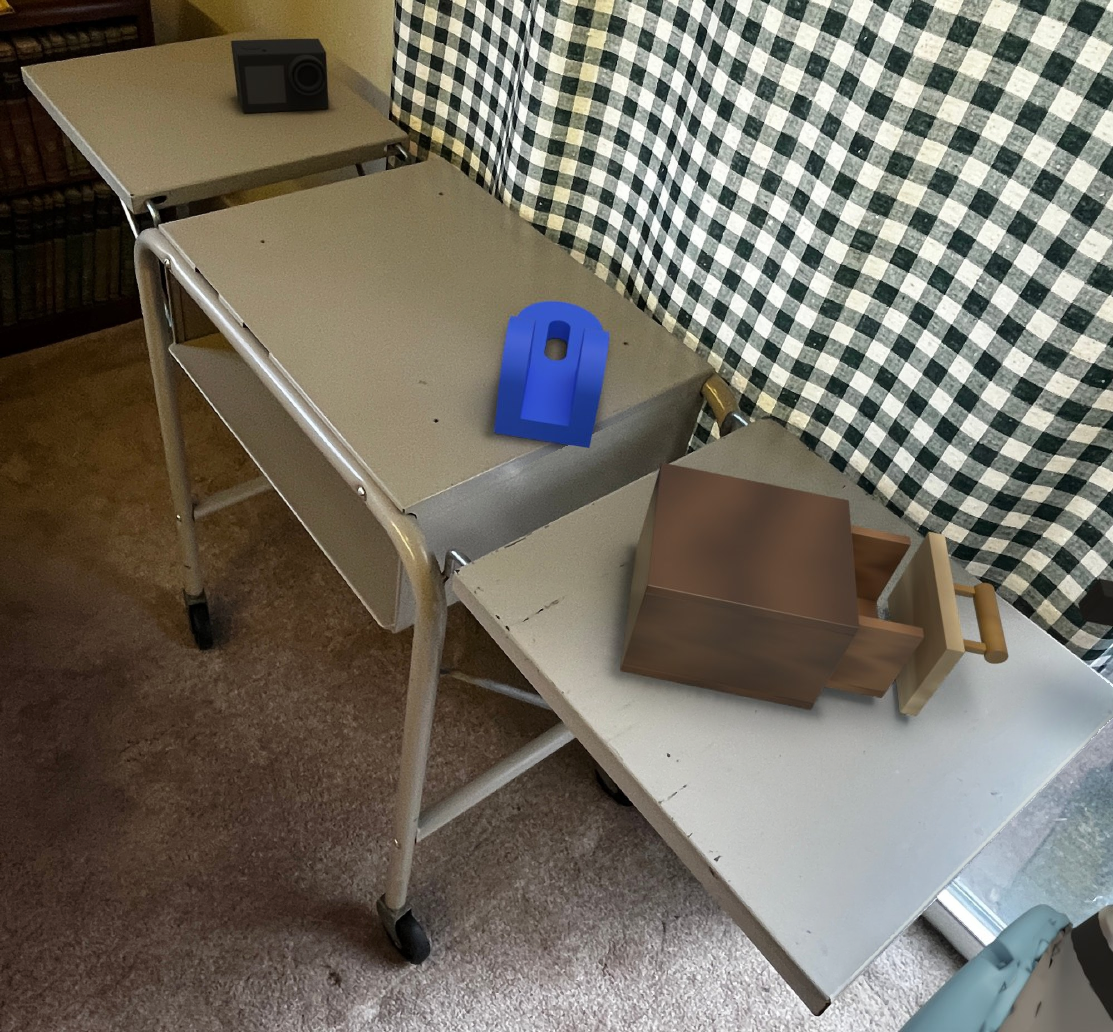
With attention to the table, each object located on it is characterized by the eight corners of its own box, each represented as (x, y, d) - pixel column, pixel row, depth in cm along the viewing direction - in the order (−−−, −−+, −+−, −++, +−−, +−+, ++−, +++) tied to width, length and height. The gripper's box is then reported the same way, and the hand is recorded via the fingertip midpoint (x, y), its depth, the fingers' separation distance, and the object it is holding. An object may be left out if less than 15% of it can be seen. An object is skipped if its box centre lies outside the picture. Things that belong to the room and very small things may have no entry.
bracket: (589, 448, 82) (606, 365, 76) (494, 432, 82) (502, 348, 76) (602, 326, 95) (617, 246, 88) (519, 313, 94) (528, 231, 88)
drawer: (956, 612, 74) (1003, 546, 68) (976, 729, 66) (1031, 665, 61) (742, 569, 74) (772, 499, 68) (740, 680, 67) (772, 612, 61)
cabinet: (806, 584, 75) (849, 499, 68) (810, 710, 67) (859, 628, 60) (636, 549, 75) (661, 461, 68) (620, 670, 67) (647, 585, 60)
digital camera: (244, 118, 114) (238, 58, 109) (236, 98, 118) (229, 39, 112) (331, 114, 118) (328, 56, 113) (321, 94, 121) (318, 37, 116)
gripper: (1449, 787, 61) (1083, 713, 61) (1362, 626, 70) (1043, 562, 70) (1553, 726, 55) (1150, 646, 56) (1444, 560, 64) (1098, 491, 65)
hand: (1091, 599), depth 63 cm, fingers closed
